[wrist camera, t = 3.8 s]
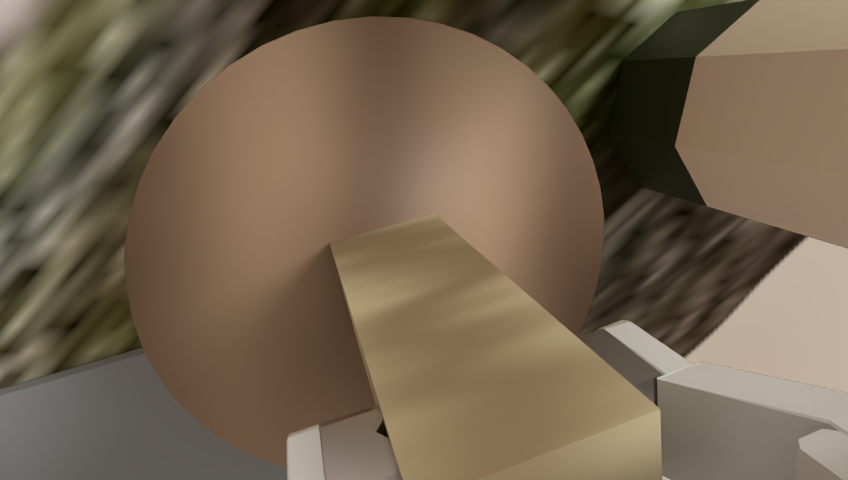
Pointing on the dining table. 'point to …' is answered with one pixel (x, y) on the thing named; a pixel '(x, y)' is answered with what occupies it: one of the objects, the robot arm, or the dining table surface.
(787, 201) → the wine bottle
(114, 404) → the mat
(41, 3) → the dining table surface
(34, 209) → the dining table surface
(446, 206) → the lid
